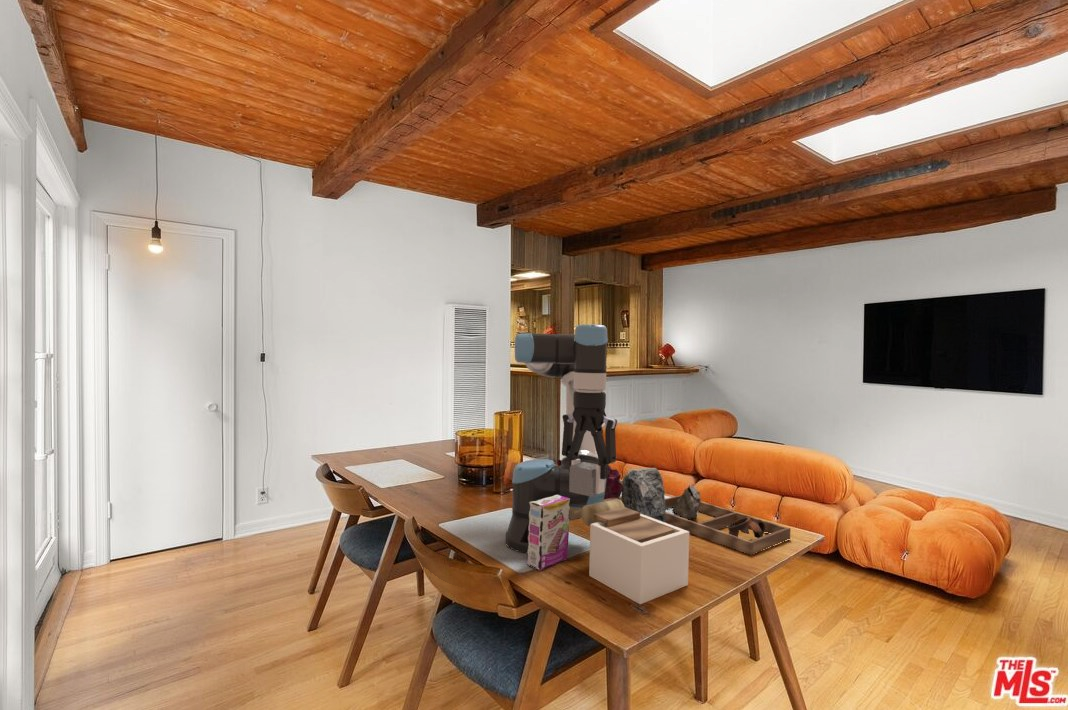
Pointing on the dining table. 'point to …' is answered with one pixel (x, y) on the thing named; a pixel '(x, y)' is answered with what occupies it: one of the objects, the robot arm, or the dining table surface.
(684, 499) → the concrete fragment
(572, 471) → the iron block
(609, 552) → the white open box
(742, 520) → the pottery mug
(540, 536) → the candy bar box
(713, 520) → the walnut tray
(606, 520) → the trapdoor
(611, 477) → the flower arrangement
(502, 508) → the dining table surface
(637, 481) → the stone block
